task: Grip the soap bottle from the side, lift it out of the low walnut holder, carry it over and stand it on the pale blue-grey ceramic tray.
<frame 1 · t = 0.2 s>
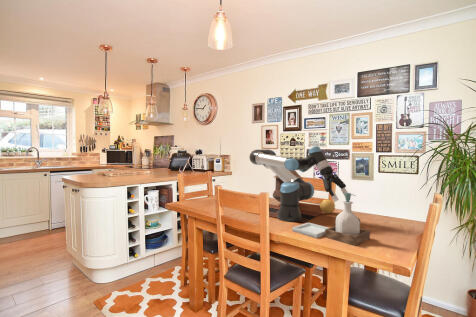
hand: (342, 199, 150), 15 cm above the table, tool tilted 35°, fingers open, 13 cm apart
end cap: (348, 227, 147), on the table
walnut holder: (347, 237, 127), on the table
tray: (312, 231, 137), on the table
stress ball: (327, 213, 178), on the table
soap bottle: (347, 238, 127), resting in walnut holder
pottery vessel: (288, 205, 205), on the table
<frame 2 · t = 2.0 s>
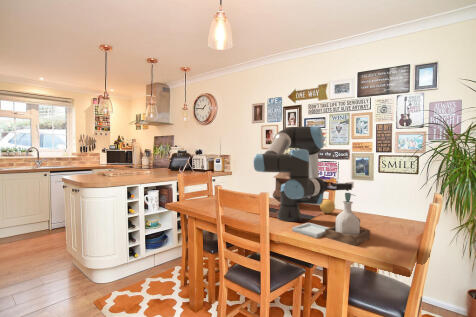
hand: (338, 183, 120), 28 cm above the table, tool horizontal, fingers open, 13 cm apart
nothing on the table moved.
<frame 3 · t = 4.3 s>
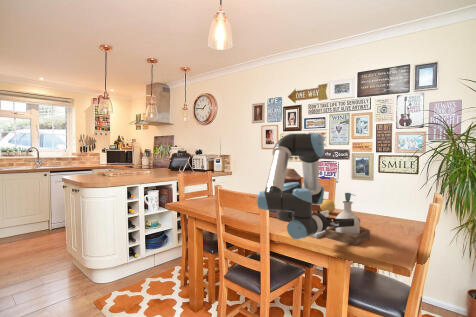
hand: (341, 215, 122), 12 cm above the table, tool horizontal, fingers open, 13 cm apart
nothing on the table moved.
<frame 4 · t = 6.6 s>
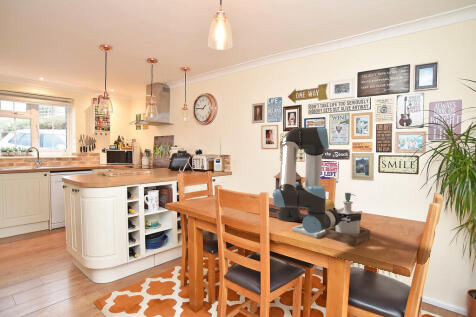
hand: (351, 211, 130), 13 cm above the table, tool horizontal, fingers closed on soap bottle, 9 cm apart
soap bottle: (347, 238, 127), resting in walnut holder, touching gripper
everything else where it was.
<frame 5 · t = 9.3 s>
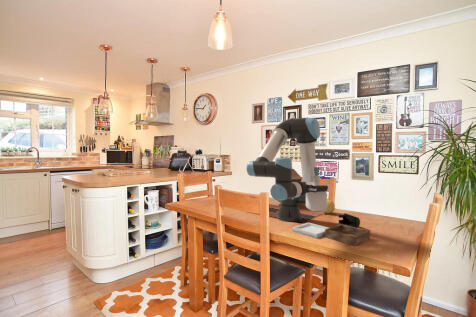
hand: (320, 185, 138), 25 cm above the table, tool horizontal, fingers closed on soap bottle, 9 cm apart
soap bottle: (316, 210, 135), point 12 cm above the table, touching gripper
everything else where it was.
when the fingers open (15 cm above the table, at t = 11.9 s): soap bottle drops 1 cm, resting on tray.
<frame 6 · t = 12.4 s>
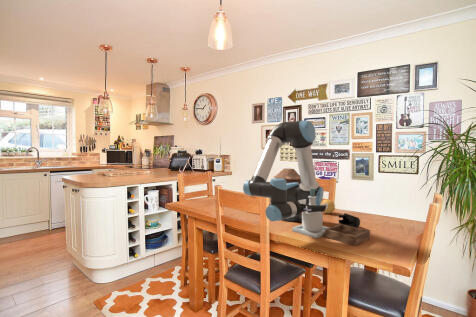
hand: (316, 203, 139), 15 cm above the table, tool horizontal, fingers open, 13 cm apart
soap bottle: (311, 230, 137), point 1 cm above the table, touching tray
everything else where it was.
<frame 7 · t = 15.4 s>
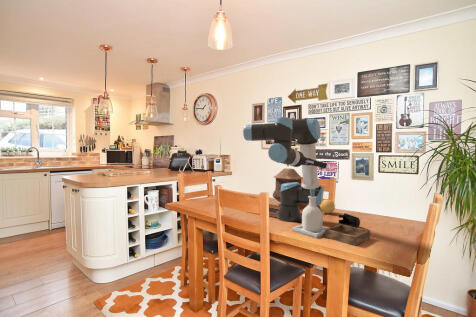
hand: (313, 164, 130), 37 cm above the table, tool horizontal, fingers open, 13 cm apart
nothing on the table moved.
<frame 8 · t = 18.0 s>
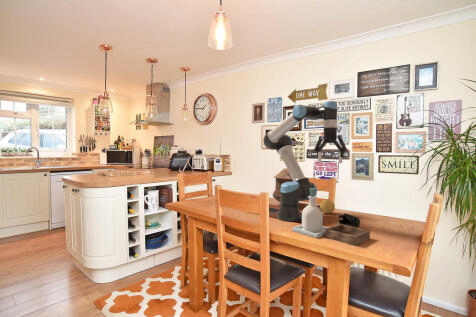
hand: (329, 162, 152), 37 cm above the table, tool pointing down, fingers open, 13 cm apart
nothing on the table moved.
at the end: soap bottle inside the target area on the tray (0.1 cm from its centre), point 0.6 cm above the tray's base; soap bottle tilted 0°; the gripper is holding nothing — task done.
